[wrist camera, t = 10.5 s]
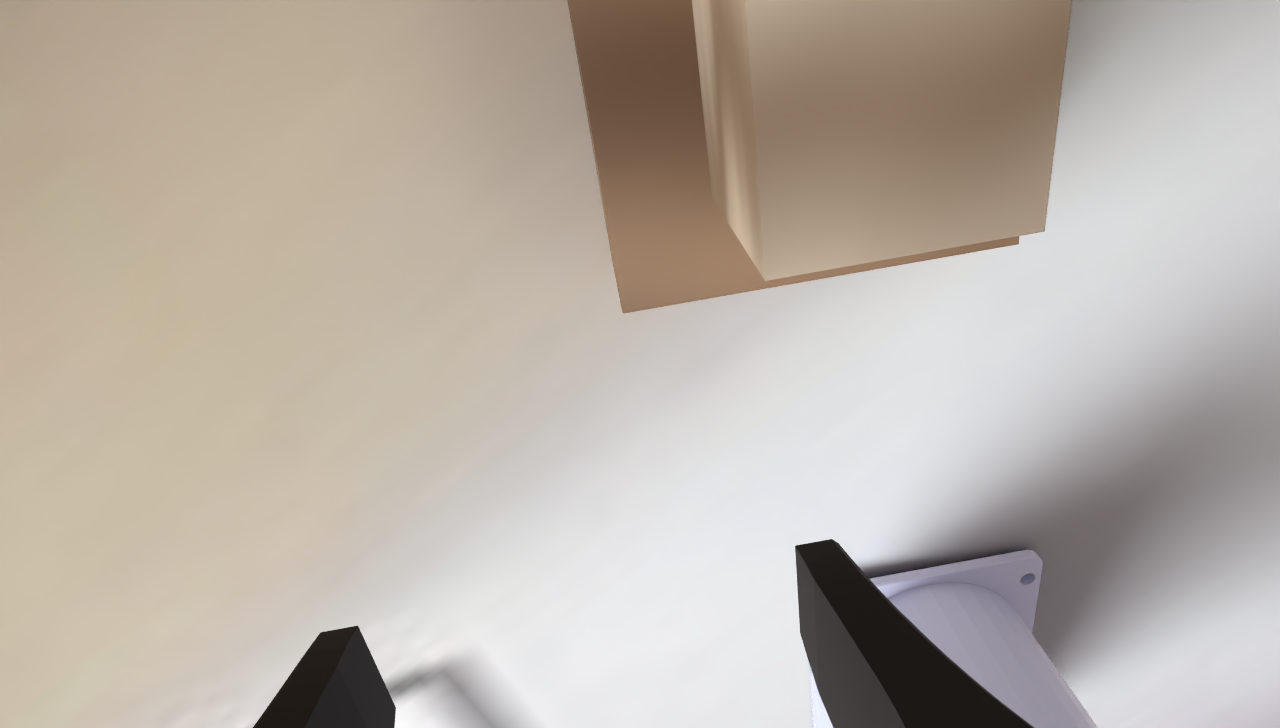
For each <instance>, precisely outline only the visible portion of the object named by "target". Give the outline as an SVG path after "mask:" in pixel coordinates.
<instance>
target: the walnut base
mask: <svg viewBox="0 0 1280 728" xmlns="http://www.w3.org/2000/svg"><path fill="white" fill-rule="evenodd" d="M568 5H569V11H570V17H571V23H572V29H573V34H574V40H575V46H576V52H577V58H578V63H579V69H580V75H581V81H582V87H583V92H584V98H585V104H586V110H587V116H588V122H589V127H590V133H591V139H592V145H593V151H594V156H595V162H596V168H597V174H598V180H599V185H600V191H601V197H602V203H603V209H604V215H605V220H606V226H607V232H608V238H609V244H610V249H611V255H612V261H613V266H614V272H615V277H616V282H617V287H618V292H619V297H620V302H621V307H622V312H623V313H628V312H634V311H640V310H646V309H651V308H657V307H663V306H668V305H674V304H680V303H685V302H691V301H697V300H703V299H708V298H714V297H720V296H725V295H731V294H737V293H742V292H748V291H754V290H760V289H765V288H771V287H777V286H782V285H788V284H794V283H799V282H805V281H811V280H817V279H822V278H828V277H834V276H839V275H845V274H851V273H856V272H862V271H868V270H874V269H879V268H885V267H891V266H896V265H902V264H908V263H914V262H919V261H925V260H931V259H936V258H942V257H948V256H953V255H959V254H965V253H971V252H976V251H982V250H988V249H993V248H999V247H1005V246H1010V245H1016V244H1019V236H1016V237H1010V238H1004V239H999V240H993V241H987V242H982V243H976V244H971V245H965V246H959V247H954V248H948V249H942V250H937V251H931V252H926V253H920V254H914V255H909V256H903V257H897V258H892V259H886V260H881V261H875V262H869V263H864V264H858V265H852V266H847V267H841V268H836V269H830V270H824V271H819V272H813V273H807V274H802V275H796V276H791V277H785V278H779V279H774V280H768V281H765V280H764V279H763V277H762V275H761V274H760V272H759V271H758V269H757V268H756V266H755V265H754V263H753V261H752V260H751V258H750V257H749V255H748V254H747V252H746V250H745V249H744V247H743V246H742V244H741V243H740V241H739V239H738V238H737V236H736V235H735V233H734V232H733V230H732V229H731V227H730V225H729V224H728V222H727V221H726V219H725V218H724V216H723V214H722V213H721V211H720V210H719V208H718V207H717V205H716V203H715V202H714V200H713V199H712V193H711V183H710V173H709V164H708V154H707V144H706V134H705V125H704V115H703V105H702V95H701V85H700V76H699V66H698V56H697V46H696V37H695V27H694V17H693V7H692V0H568Z"/></svg>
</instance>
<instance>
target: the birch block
mask: <svg viewBox="0 0 1280 728" xmlns="http://www.w3.org/2000/svg"><path fill="white" fill-rule="evenodd" d="M1071 5H1072V0H692V7H693V17H694V27H695V37H696V46H697V56H698V66H699V76H700V85H701V95H702V105H703V115H704V125H705V134H706V144H707V154H708V164H709V173H710V183H711V193H712V199H713V200H714V202H715V203H716V205H717V207H718V208H719V210H720V211H721V213H722V214H723V216H724V218H725V219H726V221H727V222H728V224H729V225H730V227H731V229H732V230H733V232H734V233H735V235H736V236H737V238H738V239H739V241H740V243H741V244H742V246H743V247H744V249H745V250H746V252H747V254H748V255H749V257H750V258H751V260H752V261H753V263H754V265H755V266H756V268H757V269H758V271H759V272H760V274H761V275H762V277H763V279H764V280H765V281H768V280H774V279H779V278H785V277H791V276H796V275H802V274H807V273H813V272H819V271H824V270H830V269H836V268H841V267H847V266H852V265H858V264H864V263H869V262H875V261H881V260H886V259H892V258H897V257H903V256H909V255H914V254H920V253H926V252H931V251H937V250H942V249H948V248H954V247H959V246H965V245H971V244H976V243H982V242H987V241H993V240H999V239H1004V238H1010V237H1016V236H1021V235H1027V234H1032V233H1038V232H1044V231H1045V223H1046V215H1047V207H1048V198H1049V190H1050V181H1051V173H1052V164H1053V156H1054V148H1055V139H1056V131H1057V122H1058V114H1059V106H1060V97H1061V89H1062V80H1063V72H1064V64H1065V55H1066V47H1067V38H1068V30H1069V22H1070V13H1071Z"/></svg>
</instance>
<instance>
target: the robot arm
mask: <svg viewBox="0 0 1280 728" xmlns="http://www.w3.org/2000/svg"><path fill="white" fill-rule="evenodd" d="M795 549H796V567H797V584H798V601H799V618H800V633H801V637H802V640H803V643H804V647H805V650H806V653H807V657H808V660H809V663H810V676H811V696H812V716H813V728H1098V727H1097V726H1096V724H1095V723H1094V721H1093V720H1092V719H1091V717H1090V716H1089V714H1088V713H1087V711H1086V710H1085V709H1084V707H1083V706H1082V704H1081V703H1080V701H1079V700H1078V699H1077V697H1076V696H1075V694H1074V693H1073V691H1072V690H1071V689H1070V687H1069V686H1068V684H1067V683H1066V681H1065V680H1064V679H1063V677H1062V676H1061V674H1060V673H1059V671H1058V670H1057V669H1056V667H1055V666H1054V664H1053V663H1052V661H1051V660H1050V659H1049V657H1048V656H1047V654H1046V653H1045V651H1044V650H1043V649H1042V647H1041V646H1040V644H1039V643H1038V641H1037V640H1036V639H1035V637H1034V636H1033V634H1032V632H1033V626H1034V619H1035V613H1036V606H1037V600H1038V594H1039V587H1040V581H1041V574H1042V568H1043V561H1042V559H1041V558H1040V557H1039V556H1038V554H1037V553H1036V552H1035V551H1032V550H1022V551H1017V552H1011V553H1006V554H1000V555H995V556H990V557H984V558H979V559H973V560H968V561H962V562H957V563H951V564H946V565H941V566H935V567H930V568H924V569H919V570H913V571H908V572H903V573H897V574H892V575H886V576H881V577H875V578H870V579H869V578H868V577H867V576H866V575H865V574H864V573H863V571H862V570H861V569H860V568H859V567H858V566H857V565H856V564H855V562H854V561H853V560H852V559H851V558H850V557H849V555H848V554H847V553H846V552H845V551H844V550H843V548H842V547H841V546H840V545H839V543H837V542H835V541H834V540H832V539H830V540H825V541H819V542H814V543H808V544H803V545H797V546H795ZM395 711H396V707H395V705H394V703H393V701H392V699H391V696H390V694H389V692H388V690H387V688H386V686H385V683H384V681H383V679H382V677H381V675H380V673H379V670H378V668H377V666H376V664H375V662H374V660H373V657H372V655H371V653H370V651H369V649H368V647H367V645H366V642H365V640H364V638H363V636H362V634H361V632H360V629H359V627H358V626H354V627H348V628H343V629H337V630H332V631H326V632H321V633H320V634H319V635H318V637H317V638H316V640H315V641H314V642H313V644H312V645H311V646H310V648H309V649H308V650H307V652H306V653H305V655H304V656H303V657H302V659H301V660H300V662H299V663H298V665H297V666H296V667H295V669H294V670H293V672H292V673H291V675H290V676H289V677H288V679H287V680H286V682H285V683H284V685H283V686H282V687H281V689H280V690H279V692H278V693H277V695H276V696H275V697H274V699H273V700H272V702H271V703H270V704H269V706H268V707H267V709H266V710H265V712H264V713H263V714H262V716H261V717H260V719H259V720H258V721H257V723H256V724H255V725H254V727H253V728H394V723H395Z"/></svg>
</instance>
